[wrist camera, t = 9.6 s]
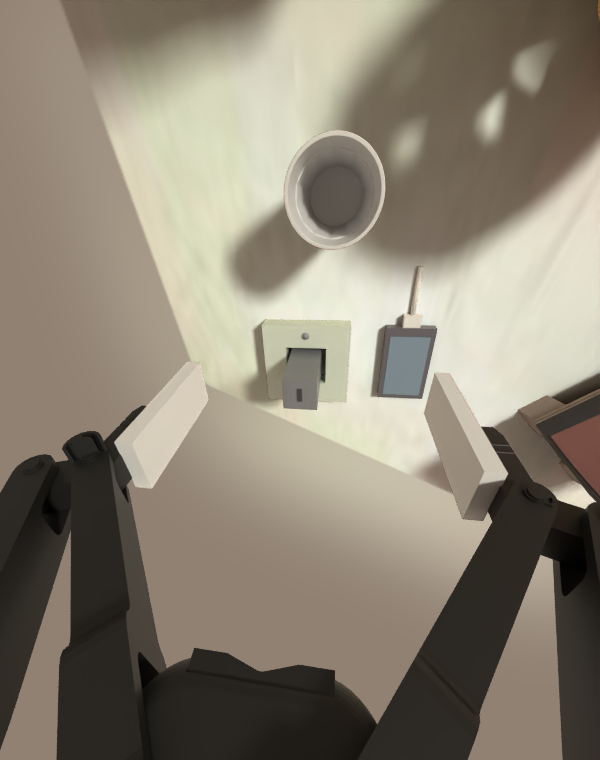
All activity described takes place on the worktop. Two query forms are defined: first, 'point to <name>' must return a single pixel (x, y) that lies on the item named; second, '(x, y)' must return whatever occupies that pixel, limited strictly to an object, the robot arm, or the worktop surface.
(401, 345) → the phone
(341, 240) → the cup
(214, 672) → the robot arm
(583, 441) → the toaster
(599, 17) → the bowl
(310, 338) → the outlet plate
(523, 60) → the worktop surface
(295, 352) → the block
